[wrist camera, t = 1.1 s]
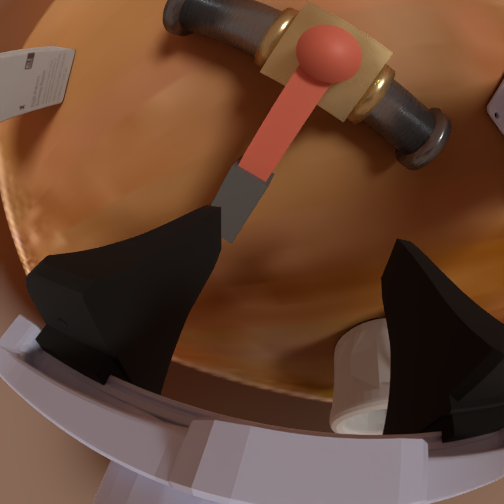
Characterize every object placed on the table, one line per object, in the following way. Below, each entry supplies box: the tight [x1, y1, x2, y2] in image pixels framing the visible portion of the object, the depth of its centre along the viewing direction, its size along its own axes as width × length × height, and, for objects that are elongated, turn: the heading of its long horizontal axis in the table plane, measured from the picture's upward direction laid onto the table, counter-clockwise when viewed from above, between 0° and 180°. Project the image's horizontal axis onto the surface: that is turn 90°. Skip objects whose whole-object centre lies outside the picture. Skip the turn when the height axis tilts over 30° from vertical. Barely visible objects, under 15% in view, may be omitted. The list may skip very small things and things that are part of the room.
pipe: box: [163, 0, 451, 170], centre depth 13 cm, size 18×5×5 cm, turn 61°
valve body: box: [254, 1, 395, 124], centre depth 13 cm, size 7×5×5 cm
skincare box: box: [0, 46, 75, 122], centre depth 12 cm, size 6×4×12 cm
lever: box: [211, 25, 362, 243], centre depth 12 cm, size 12×3×2 cm, turn 151°
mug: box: [330, 318, 390, 435], centre depth 23 cm, size 14×11×10 cm
